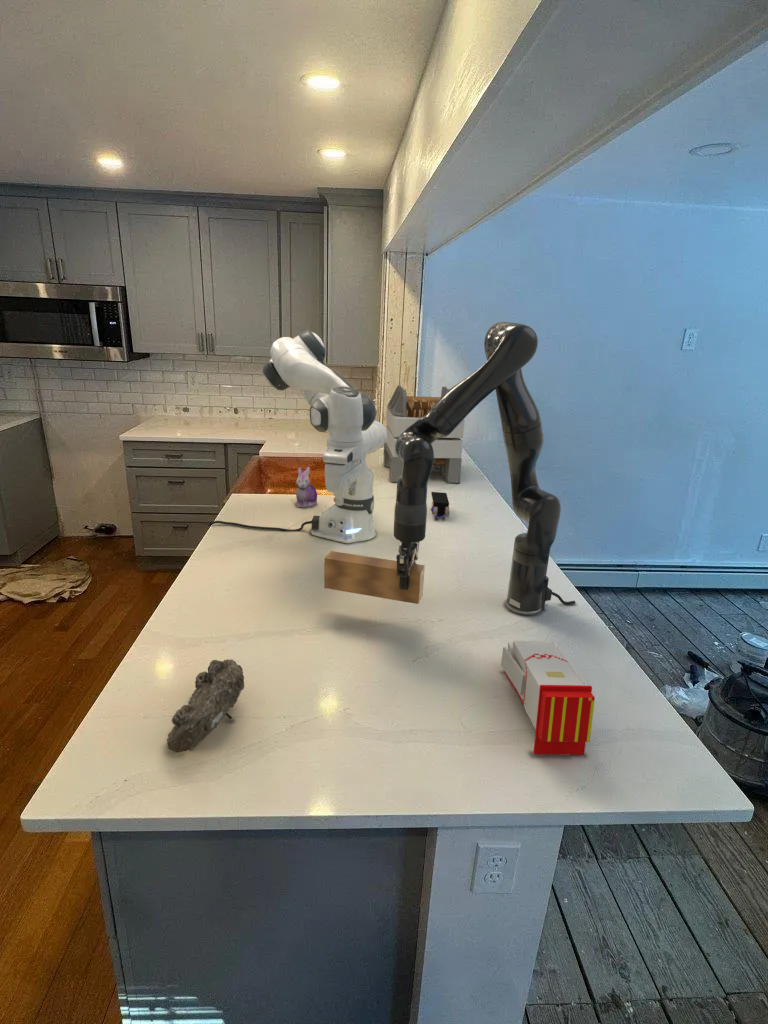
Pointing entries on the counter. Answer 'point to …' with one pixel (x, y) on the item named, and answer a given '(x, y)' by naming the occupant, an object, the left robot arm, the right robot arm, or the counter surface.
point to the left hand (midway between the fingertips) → (346, 499)
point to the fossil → (206, 705)
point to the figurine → (305, 489)
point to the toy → (550, 696)
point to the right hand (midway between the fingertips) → (406, 583)
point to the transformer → (445, 449)
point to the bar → (371, 577)
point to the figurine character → (440, 505)
